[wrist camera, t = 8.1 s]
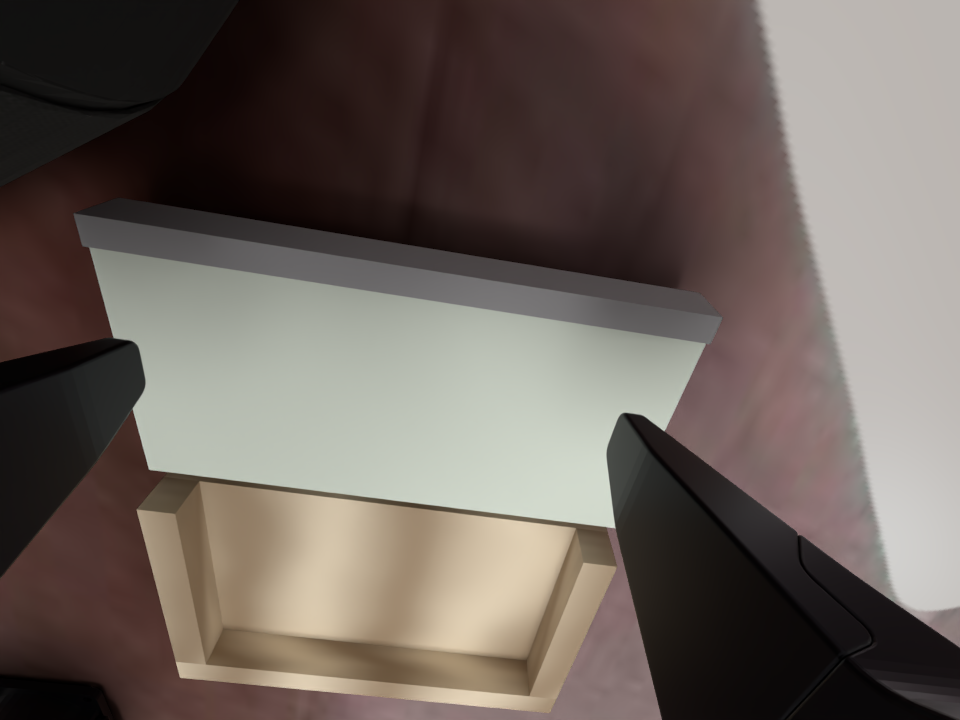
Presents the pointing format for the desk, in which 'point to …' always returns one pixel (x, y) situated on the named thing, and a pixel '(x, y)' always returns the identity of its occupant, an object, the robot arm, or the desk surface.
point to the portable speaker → (90, 68)
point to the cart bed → (371, 592)
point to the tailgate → (385, 361)
